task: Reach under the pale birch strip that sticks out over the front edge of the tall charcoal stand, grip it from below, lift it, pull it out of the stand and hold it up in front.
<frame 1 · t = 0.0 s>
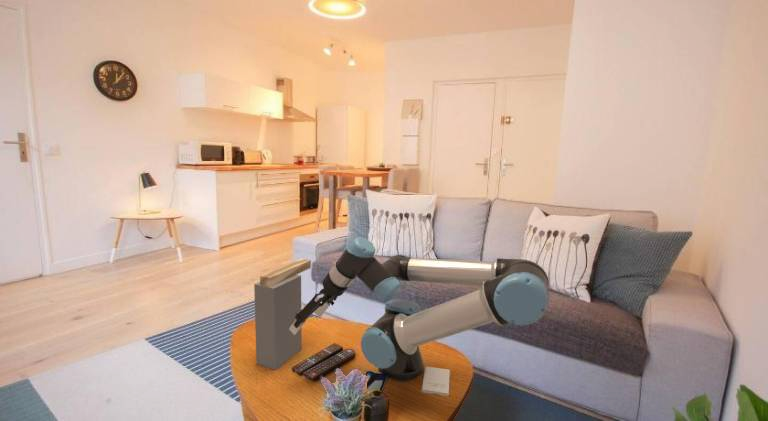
hand: (305, 322, 122), 15 cm above the table, tool tilted 35°, fingers open, 13 cm apart
birch strip: (287, 275, 129), point 28 cm above the table, touching tall stand
smartphone: (371, 389, 114), on the table
tall stand: (279, 356, 130), on the table
external hard drive: (436, 384, 118), on the table
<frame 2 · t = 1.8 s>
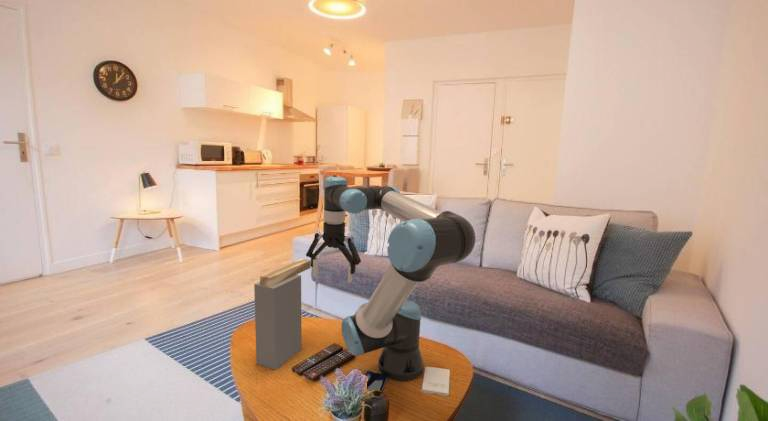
hand: (332, 278, 134), 26 cm above the table, tool pointing down, fingers open, 13 cm apart
nothing on the table moved.
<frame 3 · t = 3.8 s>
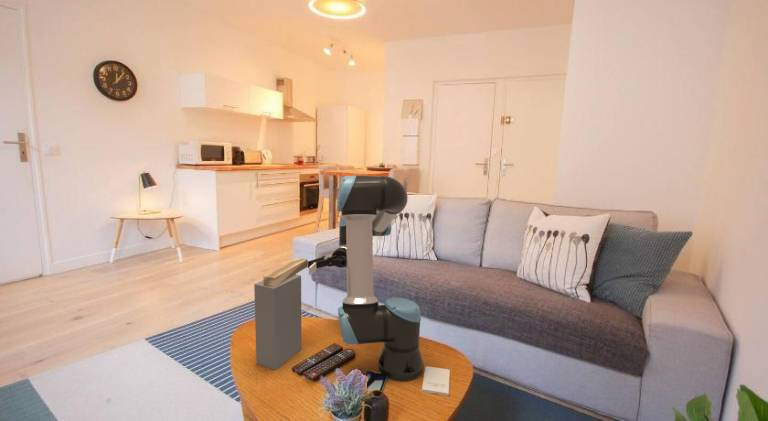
hand: (328, 272, 131), 29 cm above the table, tool horizontal, fingers open, 13 cm apart
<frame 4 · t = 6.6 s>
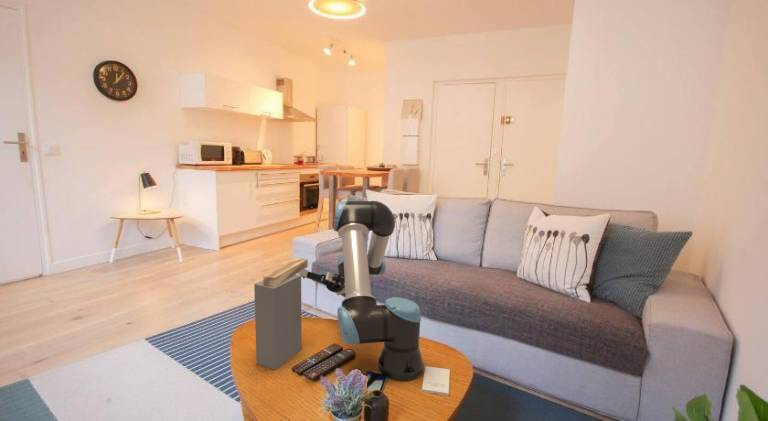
hand: (312, 272, 143), 25 cm above the table, tool pointing upward, fingers open, 13 cm apart
nothing on the table moved.
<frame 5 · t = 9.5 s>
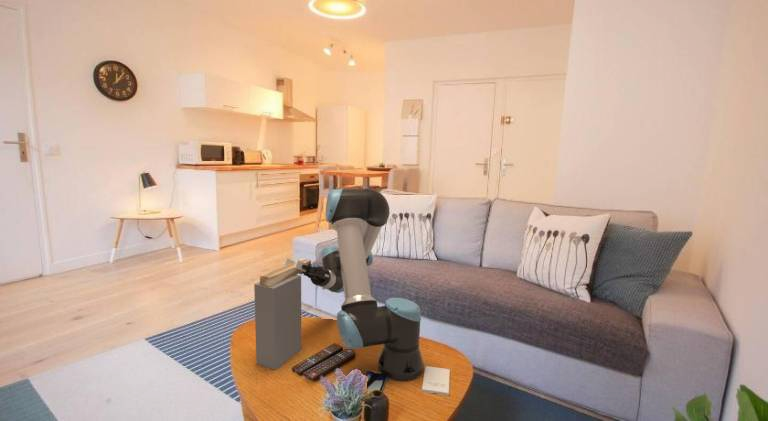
hand: (290, 262, 130), 32 cm above the table, tool pointing upward, fingers closed on birch strip, 4 cm apart
birch strip: (287, 275, 129), point 28 cm above the table, touching gripper, tall stand
everything else where it was.
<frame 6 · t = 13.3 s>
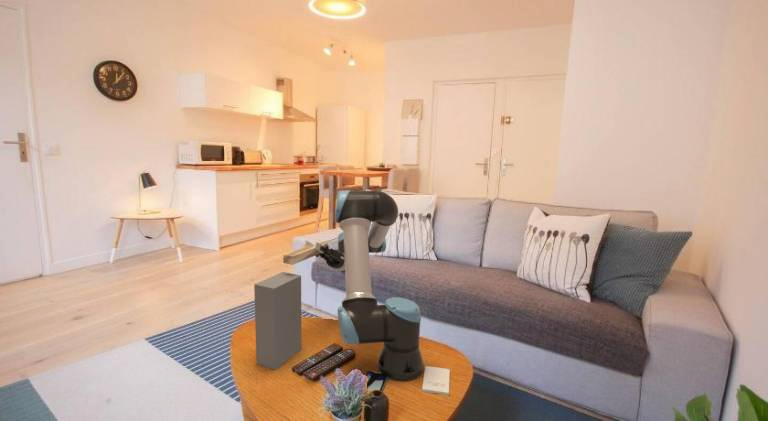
hand: (309, 244, 140), 36 cm above the table, tool pointing upward, fingers closed on birch strip, 4 cm apart
birch strip: (306, 256, 139), point 32 cm above the table, touching gripper
everything else where it was.
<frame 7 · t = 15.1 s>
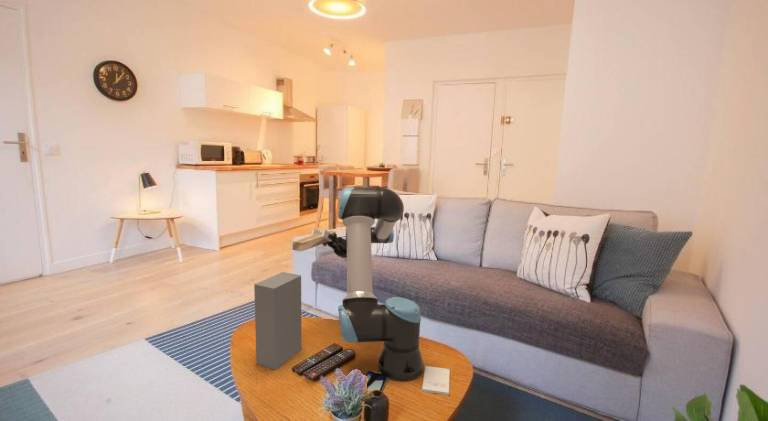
hand: (318, 232, 141), 41 cm above the table, tool pointing upward, fingers closed on birch strip, 4 cm apart
birch strip: (315, 243, 140), point 36 cm above the table, touching gripper
everything else where it was.
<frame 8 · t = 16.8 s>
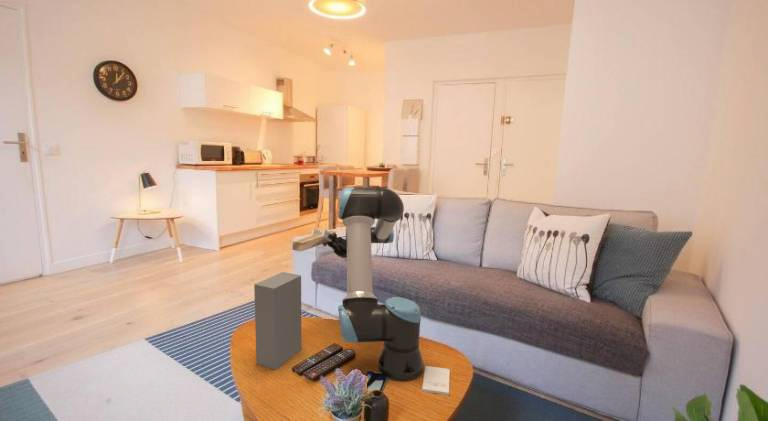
hand: (318, 232, 141), 41 cm above the table, tool pointing upward, fingers closed on birch strip, 4 cm apart
birch strip: (315, 243, 140), point 36 cm above the table, touching gripper
everything else where it was.
at the end: the gripper is holding birch strip; birch strip inside the target area (1.2 cm from its centre), point 36.5 cm above the table; birch strip moved 16.6 cm from its start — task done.
